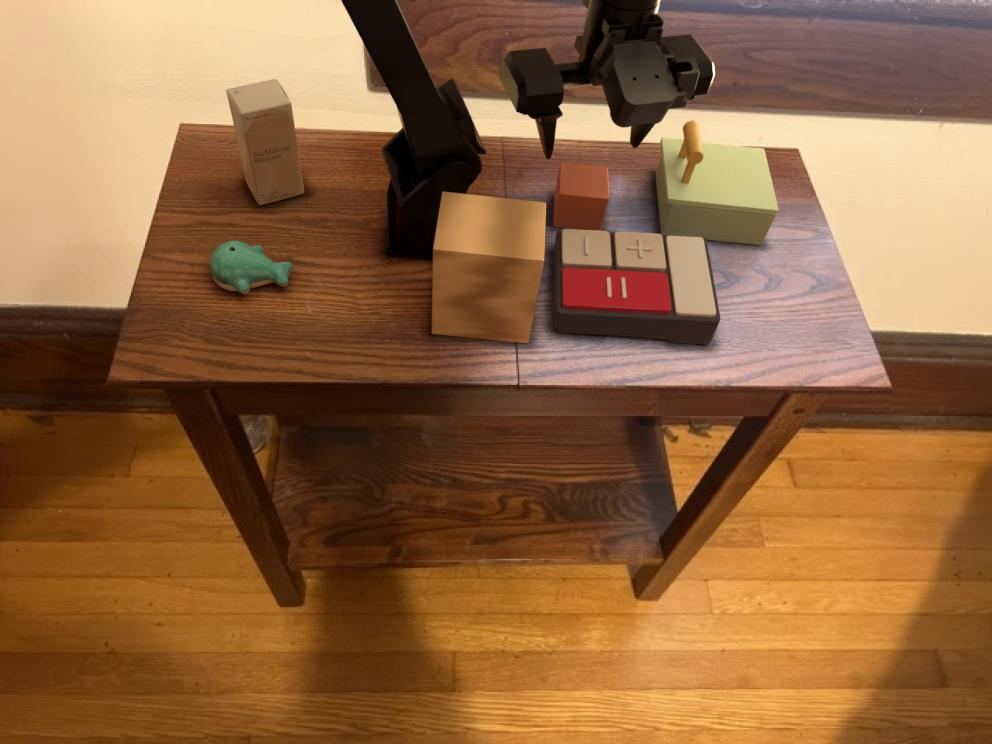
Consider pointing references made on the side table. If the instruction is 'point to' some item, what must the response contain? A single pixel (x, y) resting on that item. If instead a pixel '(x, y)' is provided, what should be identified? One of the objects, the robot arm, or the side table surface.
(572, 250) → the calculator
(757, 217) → the chest
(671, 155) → the lid
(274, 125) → the box
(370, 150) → the side table surface
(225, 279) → the whale figurine
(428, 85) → the robot arm
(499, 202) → the stand
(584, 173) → the block
